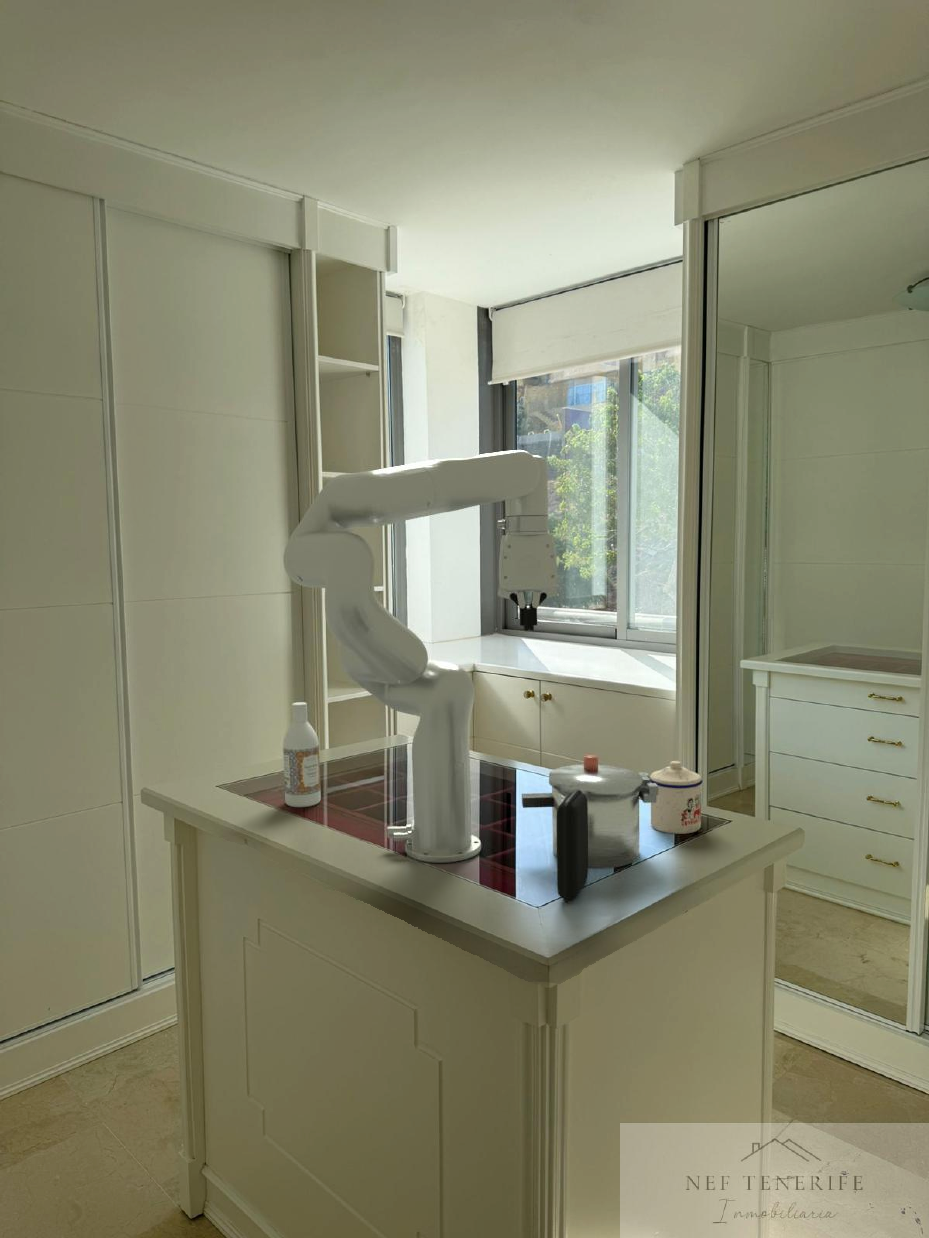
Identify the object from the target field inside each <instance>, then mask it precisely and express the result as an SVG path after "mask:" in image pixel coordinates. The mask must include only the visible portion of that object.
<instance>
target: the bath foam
mask: <svg viewBox="0 0 929 1238" xmlns="http://www.w3.org/2000/svg"><path fill="white" fill-rule="evenodd" d="M291 715H292V716H291V717H292V719H291V720H292V722H291V723H290V726H289V727H288V729H287V730H286V733H285V735H284V739H283V742H282V743H283V745H282V752H283V754H282V755H283V756H282V757H283V758H282V759H283V776H284V777H283V778H284V779H283V781H284V802H285V804H286V805H287V806H289V807H292V808H306V807H307V808H308V807H312V806H316V805H317V804H319V803H320V801H322V800H321V797H322V795H321V792H322V791H321V767H320V766H321V763H320V745H319V737H318V735H317V732H316V731H315V729H314V728H313V726H312V725H311V724H310V722H309V721H308V704H307V702H303V701H301V702H300V701H297V702H293V703H292V704H291Z"/></svg>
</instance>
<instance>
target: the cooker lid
mask: <svg viewBox="0 0 929 1238" xmlns="http://www.w3.org/2000/svg"><path fill="white" fill-rule="evenodd" d="M638 773H639V772H636V771H633V770H631V769H627V768H624V767H621V766H620V767H619V766H614V765H607V764H605V765H604V764H599V756H597V755H593V754H588V755H584V756H583V764H572V765H571V764H570V765H566V766H560V767H557V768H555V769H553V770H551V771H550V772H549V773H548V783H549V785H550V786H551V788H552V787H553V788H555V789H557V790H560V791H563V792H566V793H572V792H573V791H574V790H576V789H578V790H580V791H581V792H582V793H583V794H585V796H592V797H615V796H624V795H629V794H633V793H636V792H638V791H639V790H641V789H642V786H647V783H651V782H650V779H649V778H650V777H649V778H648V777H647V775H639V774H638Z"/></svg>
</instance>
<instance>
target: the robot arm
mask: <svg viewBox="0 0 929 1238" xmlns="http://www.w3.org/2000/svg"><path fill="white" fill-rule="evenodd" d="M548 479H549V477H548V462H547V460H546V458H544V457H543V456H541V455H533V454H532V453H530V452H528V451H526V450H522V449H517V450H516V449H515V450H505V451H498V452H497V451H496V452H491V453H489V452H488V453H483V454H479V455H476V456H473V457H467V458H466V457H465V458H445V459H435V460H434V459H433V460H432V459H431V460H426V461H421V462H415V463H410V464H404V465H403V464H402V465H397V466H392V467H385V468H380V469H375V470H374V469H373V470H368V471H360V472H351V473H344V474H338V475H336V476H335V477H333V478H332V479H330V480H329V481H327V483H326V484H325V485H324V487H323V488H322V489H321V490H319V491H320V492H319V493H318V494H317V495H316V497H315V499H314V500H313V502H312V503H311V504H310V506H309V507H308V509H307V511H306V512H305V514H304V515H303V517H302V518H301V520H300V521H299V523H298V525H297V526H296V527H295V529H294V530H293V532H292V533H291V535H290V537H289V539H288V540H287V542H286V545H285V547H284V552H283V556H282V557H283V559H282V560H283V561H282V562H283V567H284V570H285V572H286V574H287V576H288V577H289V578H290V580H292V581H293V582H294V583H295V584H297V585H299V586H300V587H301V586H302V587H305V588H310V589H311V588H315V589H324V611H325V613H324V615H325V621H326V625H327V627H328V629H329V631H330V633H331V634H332V636H333V637H334V638H335V639H336V640H337V641H338V642H339V643H338V647H337V652H338V653H337V654H338V660H339V663H340V665H341V667H342V669H343V671H344V672H345V673H346V675H347V676H349V678H350V679H352V680H353V681H354V682H355V683H357V684H358V685H359V686H361V688H363V689H364V690H366V691H367V692H368V693H370V695H372V696H373V697H374V698H375V699H377V700H378V701H380V702H381V703H382V704H383V705H385V706H387V707H388V708H390V709H391V710H394V711H397V712H399V713H403V714H407V715H411V716H416V717H419V721H418V724H417V728H415V729H416V730H415V731H414V734H413V738H412V743H411V764H412V765H411V766H412V796H413V797H412V799H413V800H412V801H413V802H412V803H413V819H412V822H411V823H407V824H406V826H398V825H394V826H393V825H392V826H391V825H387V834H386V835H387V839H393V842H402V841H403V842H405V841H406V842H405V844H404V848H405V851H404V852H405V853H406V854H407V856H408V857H411V858H412V859H415V860H418V861H420V862H426V863H437V864H438V863H440V864H441V863H444V864H445V863H455V862H460V861H463V860H468V859H470V858H473V857H474V856H477V855H478V854H479V853H480V852H481V849H482V842H481V840H480V839H479V838H478V837H476V835H473V834H472V802H471V801H472V800H471V799H472V797H471V794H472V793H471V757H470V731H471V719H472V713H473V708H474V703H475V702H474V701H475V685H474V682H473V680H472V677H471V675H470V674H469V673H468V672H467V671H466V669H464V668H463V667H461V666H459V665H458V664H455V663H452V662H449V661H441V660H436V659H435V660H434V659H429V654H428V651H427V648H426V646H425V644H424V642H423V641H422V640H421V638H419V636H417V634H416V633H414V632H413V631H412V630H411V629H410V628H408V627H407V626H406V625H405V624H404V623H402V622H401V621H400V620H399V619H398V618H397V617H396V616H395V615H394V614H392V613H391V611H389V610H388V609H387V608H386V607H385V606H384V605H383V604H382V603H381V602H380V601H379V600H378V599H379V598H378V597H377V595H376V590H375V569H376V566H375V565H376V562H375V557H374V553H373V550H372V548H371V546H370V544H369V543H368V542H367V541H366V539H365V538H364V537H362V536H361V535H359V534H356V533H354V532H353V530H354V528H376V527H377V528H378V527H383V526H387V525H388V526H389V525H392V524H397V523H402V522H406V521H409V520H414V519H418V518H424V517H429V516H432V515H433V516H434V515H438V514H439V515H440V514H443V513H450V512H455V511H459V510H464V509H468V508H473V507H476V506H484V505H487V504H492V503H498V502H499V503H500V502H503V501H505V502H504V503H505V504H504V505H505V517H504V518H503V519H501V520H497V529H502V530H504V531H505V534H504V535H503V534H502V535H501V540H500V550H499V558H498V560H499V562H498V582H499V587H498V592H497V596H498V597H500V598H502V599H508V600H512V602H513V603H515V605H517V607H519V627H521V626H522V627H523V631H525V632H527V631H534V630H535V629H534V626H538V607H539V606H540V605H541V604H542V603H543V602H544V601H545V600H546V599H550V598H553V597H556V596H558V595H559V590H558V566H557V565H558V563H557V562H558V561H557V551H556V542H555V538H554V534H551V533H550V534H549V499H548V498H549V495H548V494H549V491H548V490H549V489H548V487H549V486H548V485H549V484H548V482H549V481H548ZM524 592H531V597H530V598H531V599H530V603H529V604H527V603H526V599H525V594H524ZM528 605H529V606H528Z"/></svg>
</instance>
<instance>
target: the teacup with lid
mask: <svg viewBox="0 0 929 1238" xmlns="http://www.w3.org/2000/svg"><path fill="white" fill-rule="evenodd" d="M649 779H650V783H656V784H657V785H658V795H657V803H650V825H651V826H652V828H653V829H655V830H656V831H659V832H663V833H667V834H675V835H682V834H683V835H687V834H690V833H691V834H692V833H696V832H697V831H698V830H700V829H701V827H702V783H703V779H702V777H701V774H699V773H697V772H694V771H693V770H689V769H687V768H686V767H684V766H682V762H681V761H679V760H672V761H670V762H669V766H666V767H664V768H662V769H659V770H656V771H654V772H652V773H651V774H650V775H649Z"/></svg>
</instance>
